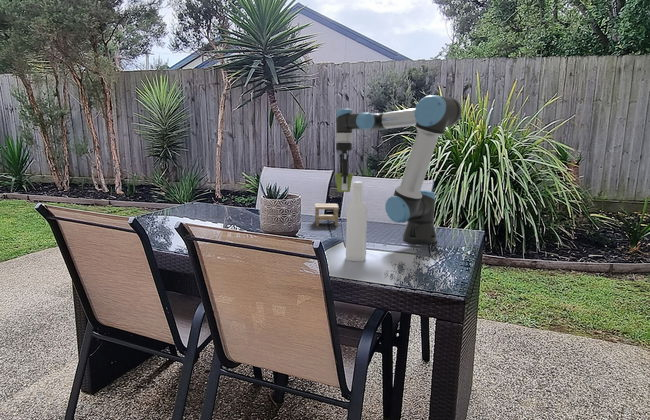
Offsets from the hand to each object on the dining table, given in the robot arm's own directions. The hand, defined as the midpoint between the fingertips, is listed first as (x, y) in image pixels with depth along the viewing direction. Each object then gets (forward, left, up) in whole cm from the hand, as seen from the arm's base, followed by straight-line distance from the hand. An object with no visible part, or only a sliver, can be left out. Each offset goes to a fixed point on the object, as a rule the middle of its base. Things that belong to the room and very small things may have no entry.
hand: (343, 189), depth 210 cm
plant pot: (0, 0, -2) cm, 2 cm away
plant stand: (+16, +7, -21) cm, 27 cm away
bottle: (-47, -1, -21) cm, 51 cm away
